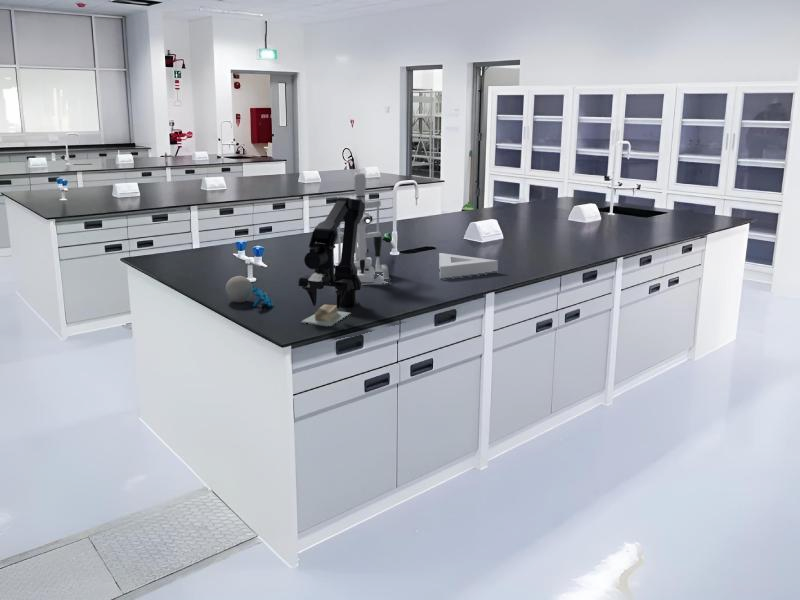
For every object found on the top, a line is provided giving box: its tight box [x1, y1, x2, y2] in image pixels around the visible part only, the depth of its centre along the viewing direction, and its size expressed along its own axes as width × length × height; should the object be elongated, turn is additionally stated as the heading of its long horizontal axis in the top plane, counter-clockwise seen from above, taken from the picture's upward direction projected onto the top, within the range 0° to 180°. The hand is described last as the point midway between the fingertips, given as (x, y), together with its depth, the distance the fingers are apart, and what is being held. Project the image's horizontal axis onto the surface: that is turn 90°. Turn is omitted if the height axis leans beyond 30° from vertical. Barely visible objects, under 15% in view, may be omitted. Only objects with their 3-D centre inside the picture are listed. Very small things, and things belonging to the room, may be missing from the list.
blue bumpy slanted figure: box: [252, 286, 274, 308], centre depth 257 cm, size 11×6×10 cm
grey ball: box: [225, 275, 254, 303], centre depth 261 cm, size 10×10×10 cm
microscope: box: [334, 172, 390, 285], centre depth 294 cm, size 24×27×45 cm
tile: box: [314, 303, 339, 321], centre depth 242 cm, size 5×10×3 cm, turn 169°
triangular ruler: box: [438, 252, 499, 279], centre depth 312 cm, size 30×26×6 cm
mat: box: [301, 310, 352, 328], centre depth 243 cm, size 16×11×1 cm
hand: (326, 307), depth 241 cm, fingers open, 9 cm apart
